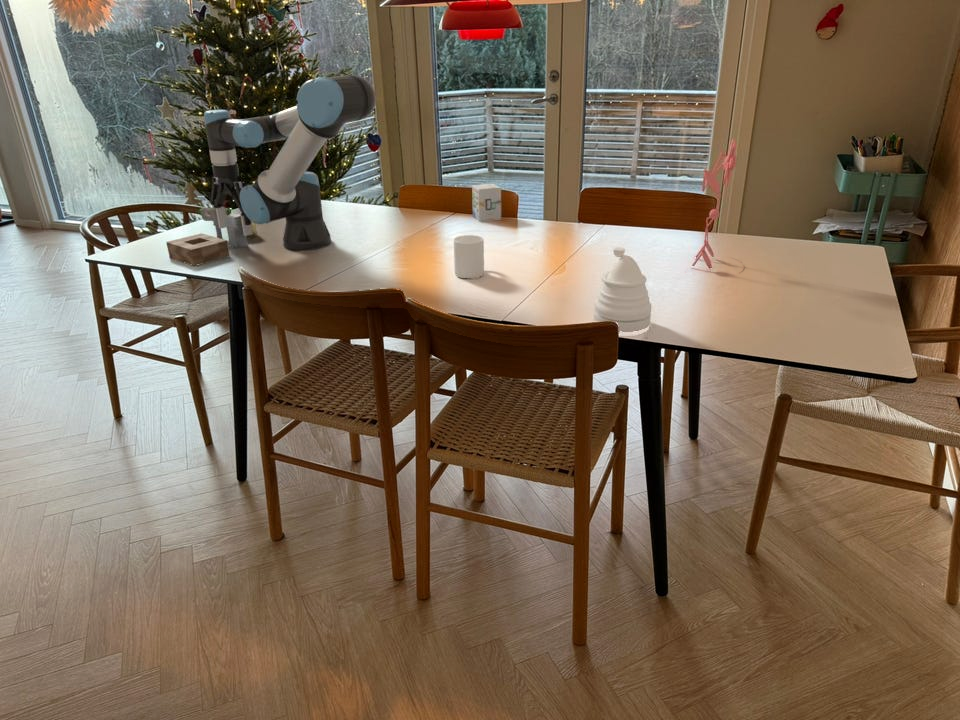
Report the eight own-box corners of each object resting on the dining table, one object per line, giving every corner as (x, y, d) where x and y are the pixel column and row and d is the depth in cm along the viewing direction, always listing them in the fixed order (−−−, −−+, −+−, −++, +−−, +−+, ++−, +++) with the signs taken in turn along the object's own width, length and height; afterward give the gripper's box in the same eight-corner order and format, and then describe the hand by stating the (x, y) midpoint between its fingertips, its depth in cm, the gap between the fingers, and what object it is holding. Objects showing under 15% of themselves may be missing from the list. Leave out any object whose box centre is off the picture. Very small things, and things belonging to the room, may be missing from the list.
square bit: (247, 246, 225) (242, 215, 221) (237, 249, 223) (231, 218, 218) (240, 244, 228) (235, 213, 223) (230, 246, 225) (224, 216, 220)
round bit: (261, 235, 236) (257, 215, 233) (245, 239, 232) (242, 219, 229) (250, 233, 240) (247, 212, 237) (235, 236, 236) (231, 216, 232)
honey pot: (583, 327, 161) (587, 252, 153) (609, 311, 170) (615, 239, 162) (633, 341, 153) (640, 262, 146) (659, 323, 163) (666, 248, 155)
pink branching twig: (683, 276, 191) (702, 145, 176) (694, 251, 213) (712, 131, 197) (742, 284, 186) (767, 149, 171) (747, 257, 208) (770, 135, 192)
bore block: (229, 256, 215) (226, 240, 213) (194, 266, 207) (191, 249, 205) (204, 248, 223) (201, 233, 221) (169, 257, 215) (166, 241, 213)
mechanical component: (233, 239, 233) (228, 209, 229) (203, 239, 233) (197, 209, 229) (236, 236, 236) (231, 207, 231) (206, 237, 236) (200, 207, 232)
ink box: (472, 216, 256) (471, 184, 250) (494, 214, 258) (494, 182, 253) (479, 222, 248) (478, 189, 243) (501, 219, 250) (501, 187, 245)
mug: (469, 265, 204) (469, 230, 200) (495, 268, 200) (494, 233, 196) (449, 277, 194) (448, 241, 190) (475, 281, 191) (474, 244, 186)
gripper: (259, 166, 209) (269, 235, 219) (212, 157, 223) (223, 222, 233) (237, 170, 204) (248, 240, 213) (191, 160, 218) (203, 227, 227)
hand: (235, 231), depth 223 cm, fingers open, 13 cm apart
